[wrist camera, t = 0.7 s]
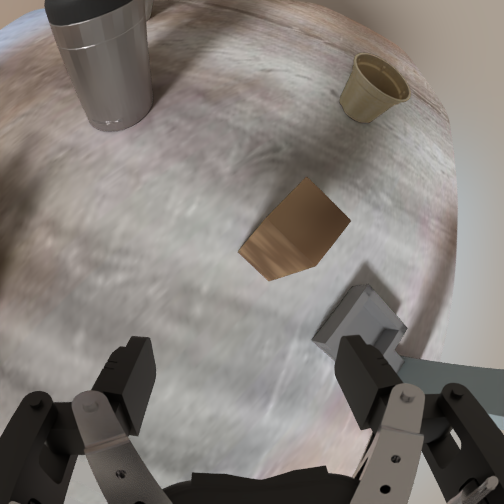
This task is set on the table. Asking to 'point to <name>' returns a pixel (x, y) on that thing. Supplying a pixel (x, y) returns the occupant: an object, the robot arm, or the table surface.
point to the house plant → (148, 8)
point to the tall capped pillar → (408, 369)
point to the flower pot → (372, 88)
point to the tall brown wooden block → (295, 233)
